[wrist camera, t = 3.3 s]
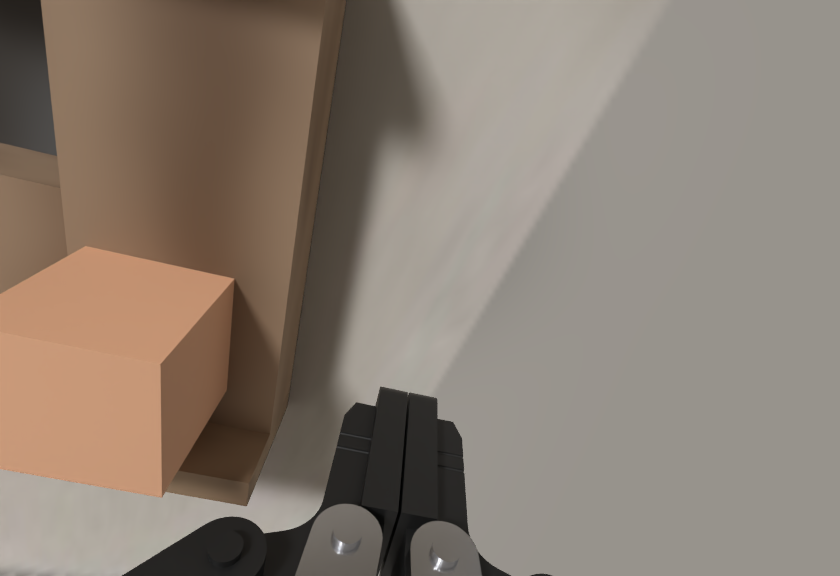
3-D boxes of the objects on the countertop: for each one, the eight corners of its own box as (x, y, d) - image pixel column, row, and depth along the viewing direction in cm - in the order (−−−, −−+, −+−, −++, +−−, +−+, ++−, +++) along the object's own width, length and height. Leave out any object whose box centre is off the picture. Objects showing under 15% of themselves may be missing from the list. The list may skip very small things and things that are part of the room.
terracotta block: (95, 364, 14) (-14, 466, 11) (85, 246, 13) (-50, 322, 9) (226, 389, 15) (162, 497, 11) (234, 278, 13) (160, 364, 10)
